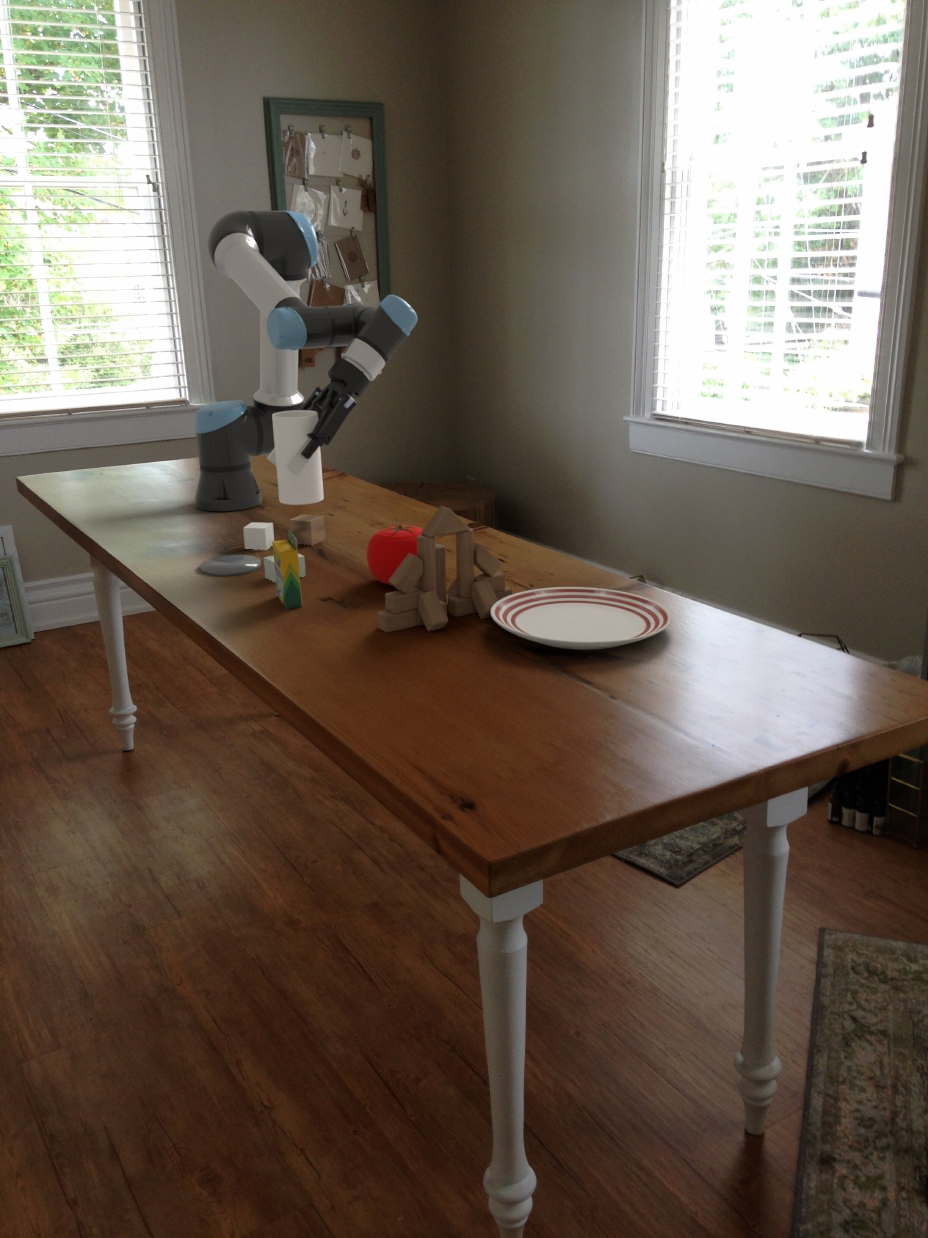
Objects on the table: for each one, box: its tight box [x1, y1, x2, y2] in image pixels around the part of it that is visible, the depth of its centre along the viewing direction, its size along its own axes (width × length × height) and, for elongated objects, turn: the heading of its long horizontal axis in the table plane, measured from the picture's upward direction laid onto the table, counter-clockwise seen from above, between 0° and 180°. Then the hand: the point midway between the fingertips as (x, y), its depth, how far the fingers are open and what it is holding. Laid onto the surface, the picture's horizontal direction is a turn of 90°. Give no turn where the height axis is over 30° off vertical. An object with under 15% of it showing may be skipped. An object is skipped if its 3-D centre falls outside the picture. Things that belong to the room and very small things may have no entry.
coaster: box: [199, 554, 262, 577], centre depth 194 cm, size 11×11×1 cm
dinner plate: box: [490, 586, 673, 650], centre depth 159 cm, size 28×27×3 cm
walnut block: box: [289, 513, 326, 547], centre depth 210 cm, size 5×5×5 cm
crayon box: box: [272, 528, 303, 610], centre depth 172 cm, size 7×3×12 cm, turn 21°
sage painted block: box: [263, 553, 307, 584], centre depth 187 cm, size 4×6×4 cm, turn 127°
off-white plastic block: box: [242, 521, 275, 551], centre depth 207 cm, size 4×4×4 cm
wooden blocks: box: [377, 505, 513, 634], centre depth 164 cm, size 25×12×18 cm, turn 123°
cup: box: [272, 410, 324, 506], centre depth 192 cm, size 8×8×16 cm
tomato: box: [366, 524, 424, 586], centre depth 182 cm, size 12×12×10 cm
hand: (281, 466), depth 191 cm, fingers closed on cup, 8 cm apart
